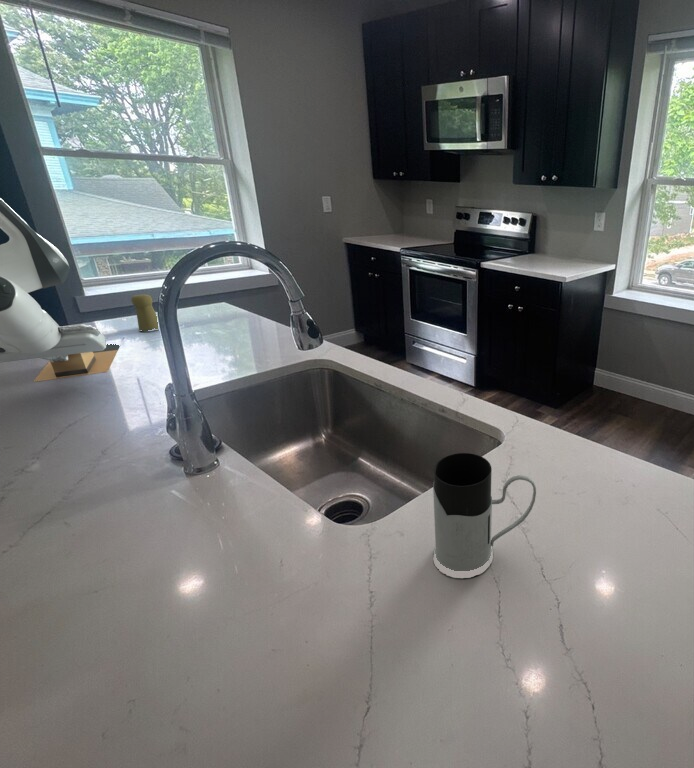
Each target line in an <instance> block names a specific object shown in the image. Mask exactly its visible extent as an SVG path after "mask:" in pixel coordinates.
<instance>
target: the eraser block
mask: <svg viewBox="0 0 694 768" xmlns="http://www.w3.org/2000/svg"><path fill="white" fill-rule="evenodd" d="M95 360H96V358H95V355H94V354H93V352H86V353H78V354H69V355H68V361H60V362H51V361H50V363H51V365H52V367H53V370H54V372H55V376H56V377H62V376H69V375H77V374H84V373H88V372H89V371H90V369H91V367H92V365H93V364H94V362H95Z"/></svg>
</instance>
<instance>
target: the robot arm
mask: <svg viewBox="0 0 694 768" xmlns="http://www.w3.org/2000/svg"><path fill="white" fill-rule="evenodd" d="M0 229H1V231H3V233H5V234H6V235H7V236H8V239H9V240H8V241H7V242H5V243H1V244H0V363H9V362H16V361H17V362H18V361H25V360H33V359H34V360H36V359H40V360H45V361H48V362H49V361H51V362H60V361H68V355H69V354H78V353H86V352H94V351H102V350H104V349H105V348H106V340H105V339H106V336H105V335H104V334H103V333H102V332H101V331H100V330H99V329H98V328H97V327H96V326H92V325H90V324H72V325H63V326H62V325H61V326H60V325H59V324H58V323H57V321H56V320H54V319H53V318H52V316H51V315H50V314H49V313H48V312H47V311H45V309H42V307H41V305H40V304H39V303H38V301H36V300H35V298H34V297H32V295H30V294H29V293H31V292H35V291H38V290H41V289H47V288H50V287H54V286H59V285H62V284H64V282H65V281H66V280H67V278H68V276H69V274H70V271H71V266H70V264H69V262H68V260H67V258H66V257H65V256H64V254H63V253H62V252H61V251H60V250H59V248H57V247H56V246H54V244H52V243H51V242H49V241H48V240H47V239H45V238H44V237H42V236H41V235H40V234H38V233H37V232H36V231H35V230H34V229H33V228H32V227H30V225H29V224H28V223H27V222H26V221H25V220H24V219H23V218H22V217H21V216H20V215H19V214H18V213H17V212H15V210H14V209H13V208H11V206H10V205H8V204H7V203H6V202H5V201H4V200H3V199H2V198H1V197H0Z"/></svg>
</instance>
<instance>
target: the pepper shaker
mask: <svg viewBox="0 0 694 768" xmlns="http://www.w3.org/2000/svg"><path fill="white" fill-rule="evenodd" d="M131 304H132V305H133V306H134V307H135V313H136V319H137V325H138V331H139V330H142V331H148V330H152V329H154V328H155V329H158V322H157V317H158V315H157V312H156V311H155V309H154V306H153V304H154V300H153V298H152V296H151V295H150V294H145V293H144V294H143V293H142V294H135V295H133V296H132V297H131ZM156 315H157V316H156Z"/></svg>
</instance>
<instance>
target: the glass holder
mask: <svg viewBox="0 0 694 768" xmlns="http://www.w3.org/2000/svg"><path fill="white" fill-rule="evenodd" d="M492 471H493V470H492V465H491V462H490V461H488V460H487V459H486V458H485V457H483V456H482V455H479V454H476V453H471V452H458V453H452V454H448V455H446V456H444V457H442V458H441V459H439V460H438V461H437V462H436V464H434V468H433V480H434V481H433V482H432V492H433V493H432V495H433V517H434V518H433V519H434V540H435V541H434V542H435V548H436V549H435V548H434V550H435V554H436V558H437V560H438V561H439V562H440V564H442V565H443V566H445V567H446V568H449V569H451V570H454V571H470V570H474V569H477V568H479V567H481V566H483V565H484V564H485V563H486V562H487V561H488V560H489V558H490V556H491V552H492V549H491V546H492V548H493V547H494V543H495V542H496V541H497V540H498V539H500V538H501V537H503V536H504V535H505V534H507V533H509V532H511V531H512V530H513V529H515V528H517V526H519V525H520V524H522V523H523V522H524V521H525V520H526V519H527V518H528V516H529V515H530V513H531V511H532V510H533V507H534V504H535V502H536V498H537V497H536V496H537V487H536V483H535V482H534V480H533V479H532V478H530V477H529V476H526V475H523V474H521V475H519V474H517V475H515V476H512V477H510V478H508V479H507V480H506V481H505V483H504V486H503V489H502V496H501V497H500V498H498V499H493V498H492V474H493V473H492ZM521 480H522V481H525V482H528V483H529V484H530V485H531V486H532V489H533V490H532V491H533V493H532V498H531V501H530V503H529V506H528V507H527V508H526V510H525V512H524V513H523V514H522V515H521V516H520V517H519V518H518V519H517V520H515V521H514V522H513V523H512V524H510V525H508V526H507V527H505V528H504V529H502V530H501V531H499V532H497V533H496V534H494V535H493V537H492V524H493V522H492V519H493V505H500V504H502V503H503V502H504V501H505V500H506V496H507V495H506V494H507V490H508V487H509V486H510V485H511V484H512V483H514V482H515V481H521Z"/></svg>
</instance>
